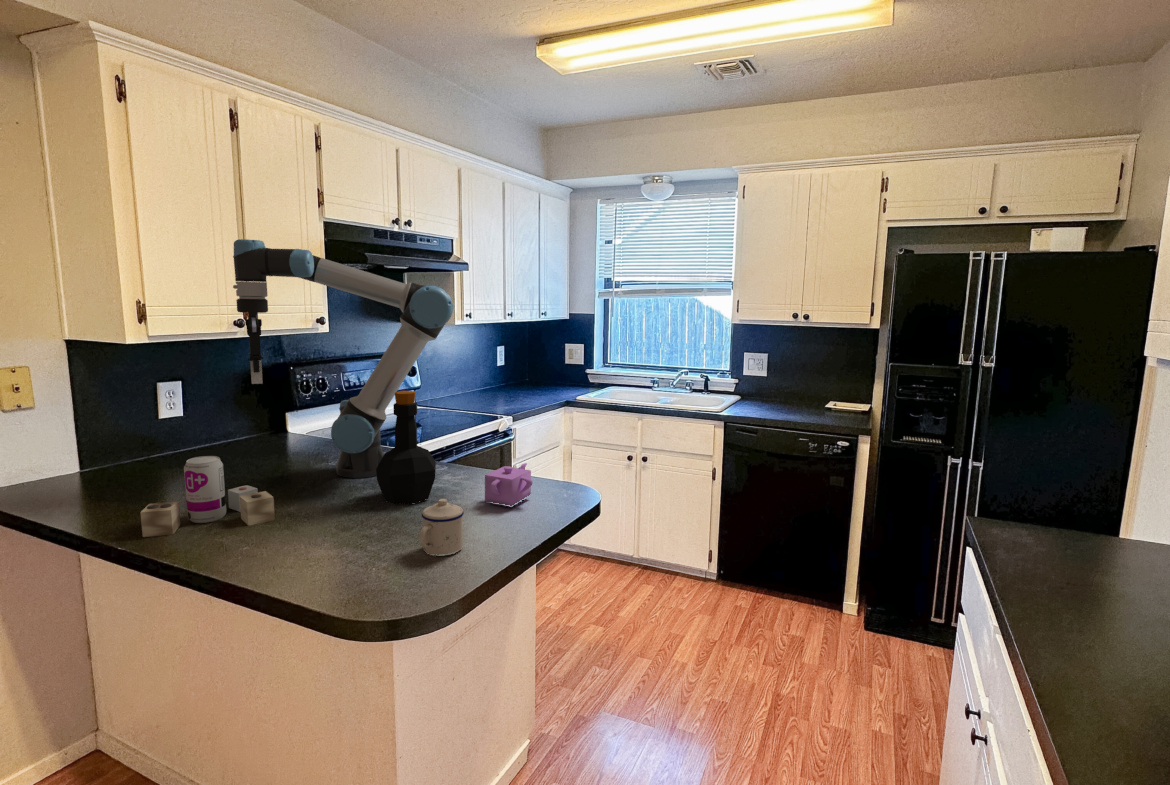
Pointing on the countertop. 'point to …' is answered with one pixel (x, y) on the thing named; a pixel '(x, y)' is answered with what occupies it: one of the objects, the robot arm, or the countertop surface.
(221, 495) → the supplement can
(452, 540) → the teacup with lid
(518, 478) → the teapot
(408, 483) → the bottle
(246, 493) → the grey plastic block
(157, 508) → the maple block
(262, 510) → the maple block
